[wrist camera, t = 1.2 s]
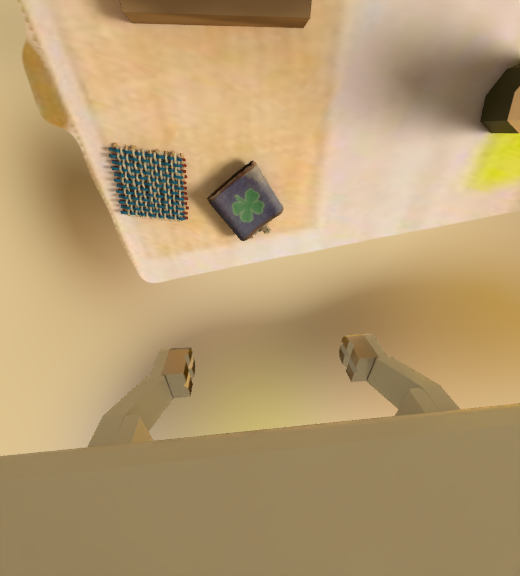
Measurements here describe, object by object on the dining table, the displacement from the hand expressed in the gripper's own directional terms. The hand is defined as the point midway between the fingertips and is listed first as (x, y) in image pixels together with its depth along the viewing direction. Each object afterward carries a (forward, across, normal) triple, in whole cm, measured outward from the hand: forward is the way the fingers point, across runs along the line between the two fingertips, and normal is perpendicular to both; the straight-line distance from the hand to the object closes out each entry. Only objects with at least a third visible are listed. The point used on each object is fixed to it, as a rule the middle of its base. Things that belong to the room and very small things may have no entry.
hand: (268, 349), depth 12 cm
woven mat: (+33, +14, -4) cm, 36 cm away
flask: (+33, +2, -4) cm, 33 cm away
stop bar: (+31, +2, -23) cm, 38 cm away
